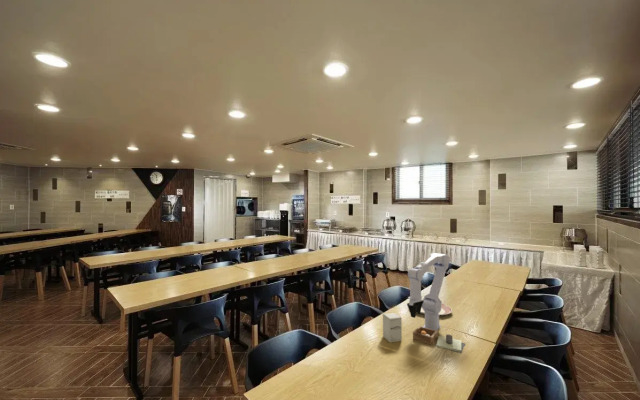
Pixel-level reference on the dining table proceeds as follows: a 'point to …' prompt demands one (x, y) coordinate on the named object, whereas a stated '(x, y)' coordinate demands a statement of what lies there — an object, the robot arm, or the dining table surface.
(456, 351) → the mat
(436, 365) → the dining table surface
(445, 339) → the lid
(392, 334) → the supplement box
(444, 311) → the dinner plate
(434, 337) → the box
